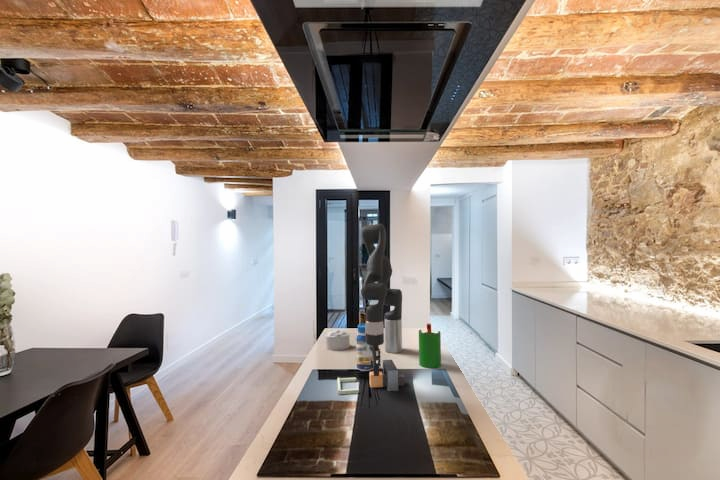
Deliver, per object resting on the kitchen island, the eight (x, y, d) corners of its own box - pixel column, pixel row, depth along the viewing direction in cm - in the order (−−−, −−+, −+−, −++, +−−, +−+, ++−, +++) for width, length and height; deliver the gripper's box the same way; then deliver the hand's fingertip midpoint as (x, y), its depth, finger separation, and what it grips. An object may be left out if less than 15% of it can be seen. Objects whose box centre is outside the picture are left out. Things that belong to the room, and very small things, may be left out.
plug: (402, 382, 137) (402, 370, 137) (404, 385, 133) (404, 373, 133) (369, 383, 135) (369, 371, 135) (370, 387, 132) (370, 375, 132)
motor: (439, 361, 159) (439, 320, 160) (442, 368, 150) (441, 325, 151) (418, 361, 160) (418, 320, 161) (420, 368, 151) (419, 324, 152)
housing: (388, 391, 128) (387, 370, 128) (382, 378, 140) (382, 360, 140) (398, 390, 128) (397, 370, 129) (392, 378, 140) (391, 359, 140)
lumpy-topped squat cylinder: (327, 344, 190) (326, 329, 190) (349, 343, 190) (349, 328, 190) (325, 350, 179) (325, 334, 179) (349, 349, 180) (349, 333, 180)
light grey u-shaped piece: (337, 381, 138) (337, 377, 138) (356, 380, 139) (356, 376, 139) (338, 394, 126) (338, 390, 126) (358, 393, 127) (358, 389, 127)
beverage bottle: (378, 368, 152) (377, 325, 152) (364, 373, 146) (363, 328, 147) (366, 363, 158) (366, 322, 158) (352, 367, 153) (352, 324, 153)
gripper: (363, 327, 141) (363, 365, 140) (367, 336, 126) (367, 379, 126) (380, 327, 141) (381, 365, 141) (386, 336, 127) (387, 378, 127)
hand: (374, 371), depth 133 cm, fingers open, 8 cm apart
